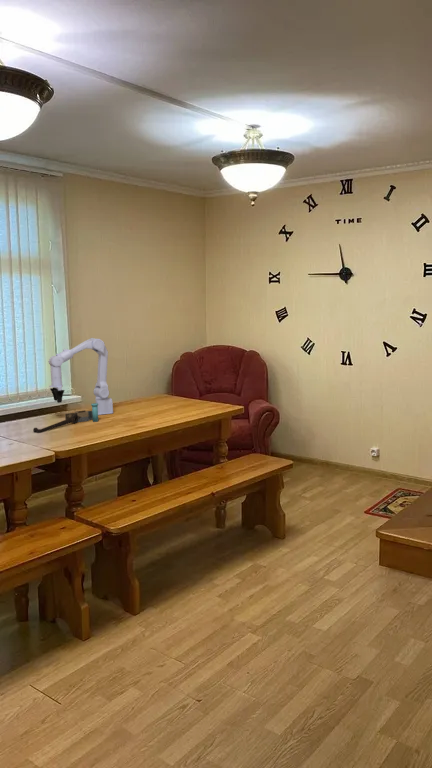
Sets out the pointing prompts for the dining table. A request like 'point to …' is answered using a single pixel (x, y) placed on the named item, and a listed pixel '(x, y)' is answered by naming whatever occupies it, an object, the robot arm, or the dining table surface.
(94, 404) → the pin
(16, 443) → the dining table surface
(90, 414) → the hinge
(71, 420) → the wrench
